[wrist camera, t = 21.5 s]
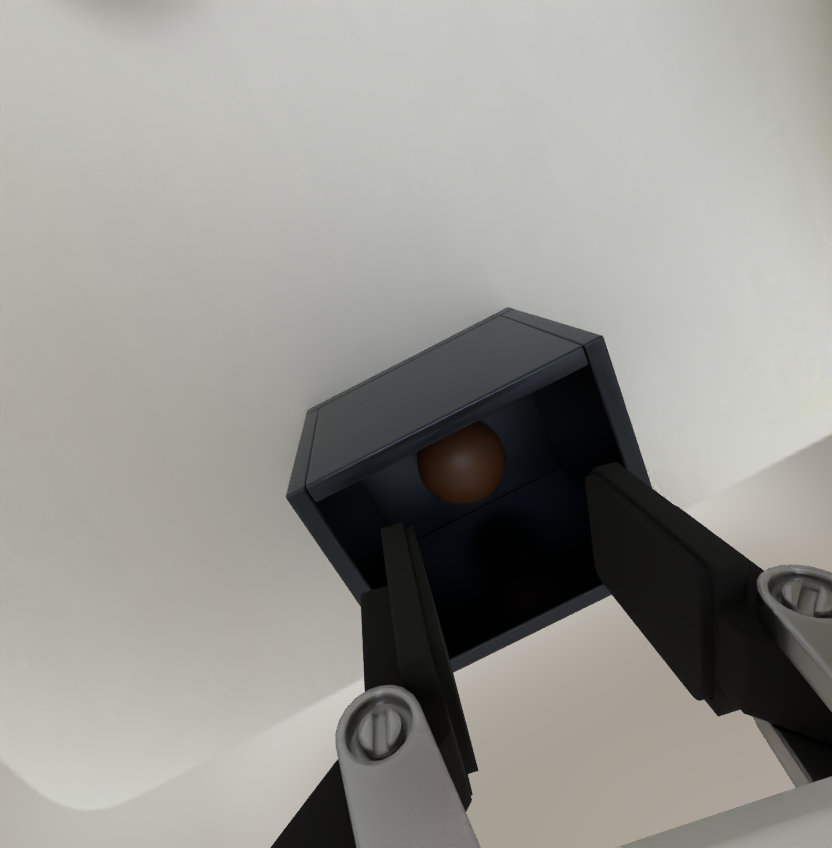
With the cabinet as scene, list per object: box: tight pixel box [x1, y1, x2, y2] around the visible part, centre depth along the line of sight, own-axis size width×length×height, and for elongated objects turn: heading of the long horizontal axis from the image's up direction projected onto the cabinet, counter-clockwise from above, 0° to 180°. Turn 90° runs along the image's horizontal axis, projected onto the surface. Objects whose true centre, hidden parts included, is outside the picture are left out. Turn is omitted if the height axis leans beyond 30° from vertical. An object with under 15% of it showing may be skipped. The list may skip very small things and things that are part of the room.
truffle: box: [417, 420, 506, 505], centre depth 16 cm, size 3×3×3 cm
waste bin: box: [286, 308, 652, 672], centre depth 15 cm, size 8×7×6 cm
